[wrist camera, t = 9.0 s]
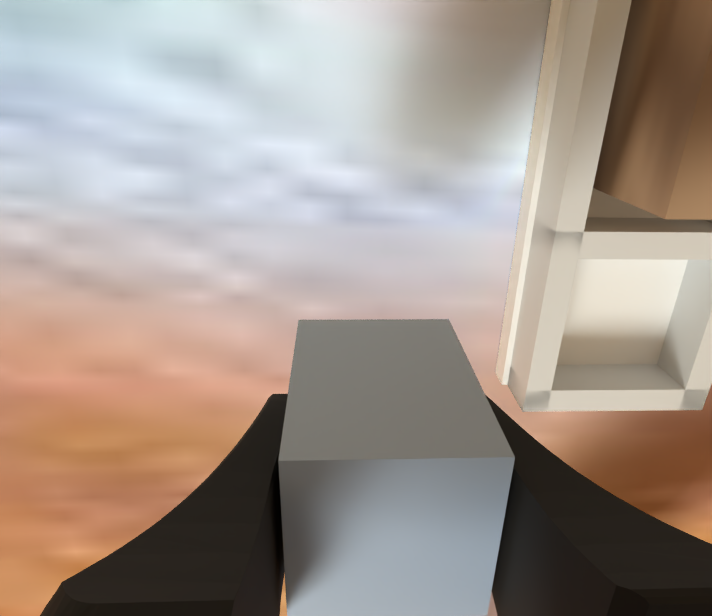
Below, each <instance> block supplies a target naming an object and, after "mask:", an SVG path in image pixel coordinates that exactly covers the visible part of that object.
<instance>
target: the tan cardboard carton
mask: <svg viewBox="0 0 712 616" xmlns="http://www.w3.org/2000/svg"><path fill="white" fill-rule="evenodd" d="M593 188H594V189H596V190H599V191H601V192H603V193H606V194H608V195H610V196H613V197H615V198H617V199H619V200H622V201H624V202H626V203H629V204H631V205H633V206H636V207H638V208H640V209H642V210H645V211H647V212H649V213H652V214H654V215H656V216H659V217H661V218H663V219H690V220H712V0H632V1H631V6H630V11H629V15H628V20H627V25H626V30H625V35H624V40H623V45H622V49H621V54H620V59H619V64H618V69H617V74H616V78H615V83H614V88H613V93H612V98H611V103H610V108H609V112H608V117H607V122H606V127H605V132H604V137H603V142H602V146H601V151H600V156H599V161H598V166H597V171H596V176H595V180H594V185H593Z"/></svg>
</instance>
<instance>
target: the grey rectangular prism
mask: <svg viewBox="0 0 712 616" xmlns="http://www.w3.org/2000/svg"><path fill="white" fill-rule="evenodd" d="M514 461H515V456H514V454H513V452H512V450H511V448H510V446H509V444H508V441H507V439H506V437H505V435H504V433H503V431H502V429H501V427H500V425H499V423H498V421H497V419H496V417H495V414H494V412H493V410H492V408H491V406H490V404H489V402H488V400H487V398H486V396H485V394H484V392H483V390H482V387H481V385H480V383H479V381H478V379H477V377H476V375H475V373H474V371H473V369H472V367H471V365H470V363H469V360H468V358H467V356H466V354H465V352H464V350H463V348H462V346H461V344H460V342H459V340H458V338H457V336H456V333H455V331H454V329H453V327H452V325H451V323H450V321H449V319H428V320H299V321H298V328H297V335H296V342H295V349H294V356H293V363H292V370H291V377H290V383H289V390H288V397H287V404H286V411H285V418H284V425H283V432H282V439H281V446H280V453H279V460H278V464H279V481H280V498H281V516H282V533H283V550H284V568H285V585H286V602H287V616H486V615H487V614H488V608H489V602H490V597H491V591H492V585H493V580H494V574H495V568H496V563H497V557H498V551H499V546H500V540H501V534H502V529H503V523H504V517H505V512H506V506H507V500H508V495H509V489H510V483H511V478H512V472H513V466H514Z"/></svg>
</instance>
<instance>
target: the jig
mask: <svg viewBox="0 0 712 616" xmlns="http://www.w3.org/2000/svg"><path fill="white" fill-rule="evenodd" d="M631 1H632V0H551V6H550V13H549V19H548V26H547V33H546V39H545V46H544V52H543V59H542V66H541V72H540V79H539V86H538V92H537V99H536V106H535V112H534V119H533V126H532V132H531V139H530V145H529V152H528V159H527V165H526V172H525V179H524V185H523V192H522V199H521V205H520V212H519V219H518V225H517V232H516V238H515V245H514V252H513V258H512V265H511V272H510V278H509V285H508V292H507V298H506V305H505V312H504V318H503V325H502V331H501V338H500V345H499V351H498V358H497V365H496V371H495V373H496V375H497V377H498V379H499V380H500V382H501V384H502V385H508V387H509V388H510V390H511V392H512V394H513V395H514V397H515V399H516V401H517V403H518V404H519V406H520V408H521V410H522V411H523V412H538V411H647V410H702V409H703V406H704V404H705V401H706V398H707V395H708V392H709V389H710V387H711V384H712V220H690V219H663V218H661V217H659V216H656V215H654V214H652V213H649V212H647V211H645V210H642V209H640V208H638V207H636V206H633V205H631V204H629V203H626V202H624V201H622V200H619V199H617V198H615V197H613V196H610V195H608V194H606V193H603V192H601V191H599V190H596V189H594V188H593V185H594V180H595V176H596V171H597V166H598V161H599V156H600V151H601V146H602V142H603V137H604V132H605V127H606V122H607V117H608V112H609V108H610V103H611V98H612V93H613V88H614V83H615V78H616V74H617V69H618V64H619V59H620V54H621V49H622V45H623V40H624V35H625V30H626V25H627V20H628V15H629V11H630V6H631Z"/></svg>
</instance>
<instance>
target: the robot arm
mask: <svg viewBox="0 0 712 616" xmlns="http://www.w3.org/2000/svg"><path fill="white" fill-rule="evenodd" d="M485 396H486V395H485ZM287 397H288V394H273V395H271V396H270V397H269V398H268V400H267V402H266V403H265V405H264V407H263V408H262V410H261V411H260V413H259V415H258V416H257V418H256V419H255V420H254V422H253V423H252V425H251V426H250V428H249V429H248V430H247V432H246V433H245V434H244V435H243V437H242V438H241V439H240V441H239V442H238V443H237V445H236V446H235V447H234V448H233V450H232V451H231V452H230V453H229V454H228V455H227V457H226V458H225V459H224V460H223V461H222V462H221V464H220V465H219V466H218V467H217V468H216V469H215V470H214V471H213V472H212V473H211V475H210V476H209V477H208V478H207V479H206V480H205V481H204V482H203V483H202V484H201V485H200V486H199V487H198V488H197V489H195V490H194V491H193V492H192V493H191V494H190V495H189V496H188V497H187V498H186V499H185V500H183V501H182V502H181V503H180V504H179V505H178V506H177V507H175V508H174V509H173V510H172V511H171V512H169V513H168V514H167V515H166V516H164V517H163V518H162V519H161V520H160V521H158V522H157V523H156V524H154V525H153V526H152V527H150V528H149V529H147V530H146V531H145V532H143V533H142V534H140V535H139V536H138V537H136V538H135V539H133V540H132V541H130V542H129V543H127V544H126V545H124V546H123V547H121V548H120V549H118V550H116V551H115V552H113V553H112V554H110V555H108V556H107V557H105V558H103V559H102V560H100V561H98V562H96V563H95V564H93V565H91V566H89V567H88V568H86V569H84V570H83V571H81V572H79V573H77V574H76V575H74V576H72V577H70V578H68V579H67V580H65V581H63V582H62V583H61V585H60V586H59V588H58V590H57V591H56V593H55V594H54V595H53V597H52V598H51V600H50V601H49V602H48V604H47V605H46V607H45V609H44V610H43V612H42V613H41V615H40V616H279V614H280V602H281V593H282V585H283V578H284V572H285V568H284V550H283V533H282V516H281V498H280V481H279V464H278V460H279V453H280V446H281V439H282V432H283V425H284V418H285V411H286V404H287ZM486 398H487V400H488V402H489V404H490V406H491V408H492V410H493V412H494V414H495V417H496V419H497V421H498V423H499V425H500V427H501V429H502V431H503V433H504V435H505V437H506V439H507V441H508V444H509V446H510V448H511V450H512V452H513V454H514V456H515V461H514V466H513V472H512V478H511V483H510V489H509V495H508V500H507V506H506V512H505V517H504V523H503V529H502V534H501V540H500V546H499V551H498V557H497V563H496V568H495V574H494V580H493V585H492V591H491V597H490V602H489V608H488V614H487V615H486V616H712V544H710V543H708V542H705V541H703V540H701V539H698V538H696V537H694V536H692V535H690V534H688V533H685V532H683V531H681V530H679V529H677V528H675V527H672V526H670V525H668V524H666V523H664V522H662V521H660V520H658V519H656V518H654V517H652V516H650V515H648V514H646V513H645V512H643V511H641V510H639V509H637V508H636V507H634V506H632V505H630V504H628V503H627V502H625V501H623V500H621V499H619V498H618V497H616V496H614V495H613V494H611V493H609V492H608V491H606V490H604V489H603V488H601V487H600V486H598V485H597V484H595V483H594V482H592V481H591V480H589V479H587V478H586V477H584V476H583V475H581V474H580V473H578V472H577V471H576V470H574V469H573V468H571V467H570V466H569V465H567V464H566V463H565V462H563V461H562V460H561V459H559V458H558V457H557V456H555V455H554V454H553V453H551V452H550V451H549V450H548V449H546V448H545V447H544V446H543V445H541V444H540V443H539V442H538V441H537V440H535V439H534V438H533V437H532V436H531V435H529V434H528V433H527V432H526V431H525V430H524V429H523V428H521V427H520V426H519V425H518V424H517V423H516V422H515V421H514V420H512V419H511V418H510V417H509V416H508V415H507V414H506V413H505V412H504V411H503V410H501V409H500V408H499V407H498V406H497V405H496V404H495V403H494V402H493V401H492V400H491V399H490V398H488V397H487V396H486Z"/></svg>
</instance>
